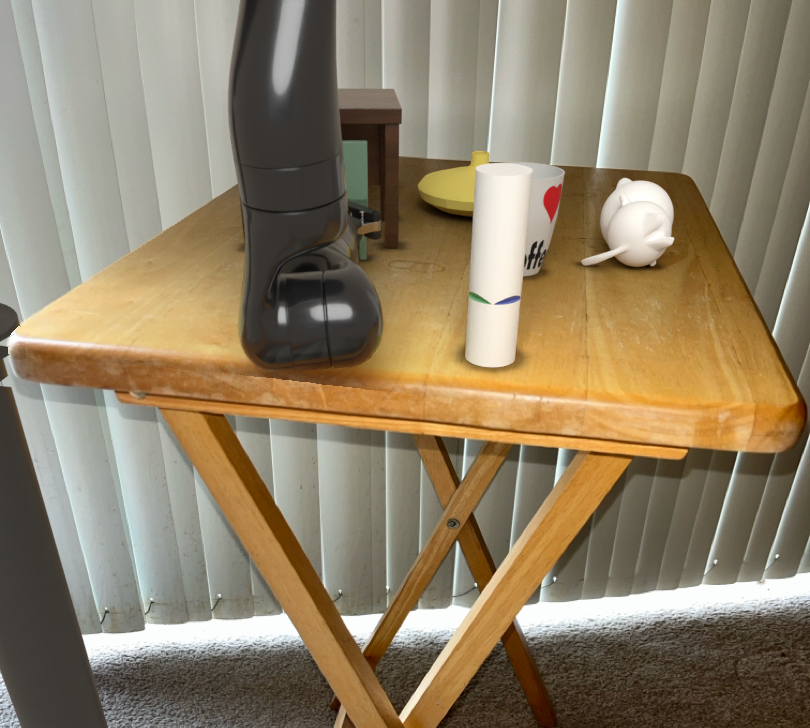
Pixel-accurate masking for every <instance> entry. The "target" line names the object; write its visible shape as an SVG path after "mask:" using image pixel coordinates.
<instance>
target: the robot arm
mask: <svg viewBox="0 0 810 728" xmlns="http://www.w3.org/2000/svg"><path fill="white" fill-rule="evenodd" d="M236 18H237V19H236V25H235V31H234V37H233V43H232V50H231V51H232V52H231V58H230V63H229V64H230V65H229V73H228V86H227V120H228V129H229V139H230V145H231V153H232V158H233V164H234V169H235V175H236V176H235V177H236V180H237V186H238V193H240V194H239V199H240V198H241V204H240V206H241V205H242V211H243V219H244V230H245V246H244V263H243V276H242V283H241V284H242V285H241V291H240V297H239V298H240V299H239V305H238V318H237V334H238V340H239V343H240V346H241V348H242V351H243V353H244V354H245V356H246V357H247V358H248V360H249V361H250V362H251V363H252V364H253V365H254V366H255V367H256V368H258V369H260V370H261V371H262V372H266V373H272V374H283V373H294V372H306V371H307V372H308V371H309V372H310V371H320V370H322V371H323V370H332V369H334V370H336V369H349V368H354V367H359V366H361V365H363V364H365V363H367V362H368V361H369V360H370V359H371V358H372V357H374V355H375V354H376V353H377V351H378V349H379V348H380V345H381V343H382V340H383V336H384V329H385V327H384V325H385V319H384V311H383V307H382V303H381V299H380V296H379V293H378V291H377V289H376V287H375V285H374V282H373V281H372V279H371V277H370V276H369V275H368V273H367V272H366V271H365V270H364V269H363V268H362V267H361V265H359V264H360V257H359V242H360V241H361V239H362V237H367V238H368V239H370V240H374V241H376V240H381V239H382V219H381V211H380V210H378V209H375V208H371V207H369V206H368V207H366V206H362V205H359V204H356V203H353V202H350V201H347V190H346V179H345V168H344V156H343V144H342V133H341V123H340V111H339V97H338V89H339V86H338V84H339V83H338V68H337V67H338V65H337V63H338V62H337V61H338V60H337V0H239V3H238V11H237V17H236ZM351 213H352V216H351Z"/></svg>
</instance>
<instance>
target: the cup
mask: <svg viewBox="0 0 810 728" xmlns="http://www.w3.org/2000/svg"><path fill="white" fill-rule="evenodd" d="M506 163H511V164H519V165H524V166H527V167H530V168H532V169H533V176H532V186H531V197H530V207H529V218H528V228H527V239H526V249H525V260H524V271H523V277H530V276H533V275H536V274H538V273H539V272H540V271H541V267H542V265H543V263H544V260H545V258H546V256H547V253H548V251H549V248H550V244H551V241H552V238H553V234H554V230H555V226H556V223H557V219H558V216H559V210H560V205H561V197H562V191H563V185H564V179H565V173H566V171H565V170H564V169H563V168H561V167H558V166H556V165H551V164H547V163H539V162H527V161H511V162H509V161H508V162H506Z"/></svg>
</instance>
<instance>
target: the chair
mask: <svg viewBox="0 0 810 728" xmlns="http://www.w3.org/2000/svg"><path fill="white" fill-rule="evenodd" d="M342 144H343V156H344V168H345V179H346V190H347V201H350V202H353V203H356V204H359V205H362V206H366V207H369V185H368V163H367V141H366V140H342ZM351 216H352V213H351ZM367 238H368V237H362V239H361V241H360V242H358V257H359V261H361V260H362V261H364V260H365V261H366V260H367V259H368V245H367V244H368V241H367Z"/></svg>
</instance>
